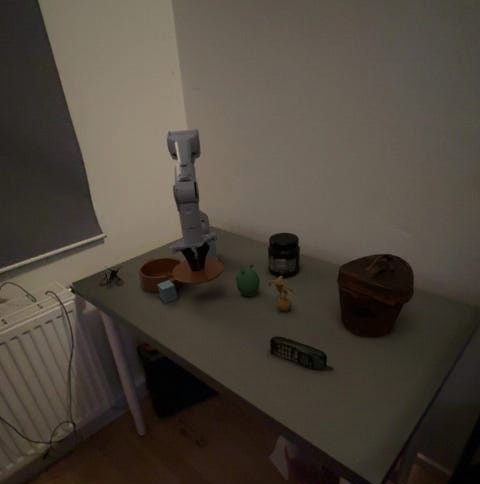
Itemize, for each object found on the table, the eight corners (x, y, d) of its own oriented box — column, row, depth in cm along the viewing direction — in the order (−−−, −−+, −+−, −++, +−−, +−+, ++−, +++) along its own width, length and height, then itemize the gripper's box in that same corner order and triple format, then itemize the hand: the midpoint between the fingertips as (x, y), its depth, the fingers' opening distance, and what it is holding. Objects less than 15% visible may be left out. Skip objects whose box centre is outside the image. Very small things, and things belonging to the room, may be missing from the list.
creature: (121, 290, 117) (128, 274, 122) (115, 278, 113) (123, 262, 118) (98, 290, 117) (106, 274, 123) (92, 279, 114) (101, 263, 119)
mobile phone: (268, 339, 81) (330, 359, 74) (274, 332, 83) (335, 350, 76) (269, 356, 84) (329, 376, 77) (274, 348, 86) (334, 367, 79)
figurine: (300, 311, 98) (302, 273, 92) (289, 321, 94) (290, 283, 88) (276, 302, 103) (275, 266, 96) (264, 312, 99) (263, 275, 92)
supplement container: (290, 261, 124) (290, 229, 118) (305, 274, 116) (306, 240, 109) (263, 267, 121) (262, 235, 115) (276, 281, 113) (276, 247, 106)
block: (171, 293, 111) (169, 280, 108) (177, 298, 108) (174, 285, 105) (160, 298, 109) (157, 284, 106) (165, 303, 106) (162, 289, 103)
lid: (207, 256, 114) (205, 242, 111) (233, 273, 103) (232, 258, 100) (164, 271, 107) (161, 256, 104) (187, 291, 96) (184, 275, 94)
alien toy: (246, 285, 112) (245, 257, 107) (264, 293, 107) (263, 264, 102) (231, 294, 108) (228, 265, 103) (249, 303, 103) (247, 273, 98)
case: (397, 303, 99) (409, 244, 89) (411, 349, 82) (428, 284, 72) (332, 299, 102) (337, 243, 92) (333, 343, 86) (340, 280, 76)
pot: (170, 264, 128) (168, 251, 125) (196, 285, 114) (194, 270, 111) (133, 277, 121) (129, 263, 118) (155, 301, 107) (152, 286, 104)
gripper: (174, 236, 91) (182, 281, 98) (220, 222, 97) (224, 265, 105) (162, 229, 96) (171, 272, 103) (208, 216, 102) (212, 257, 110)
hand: (197, 268), depth 104 cm, fingers closed on lid, 2 cm apart
